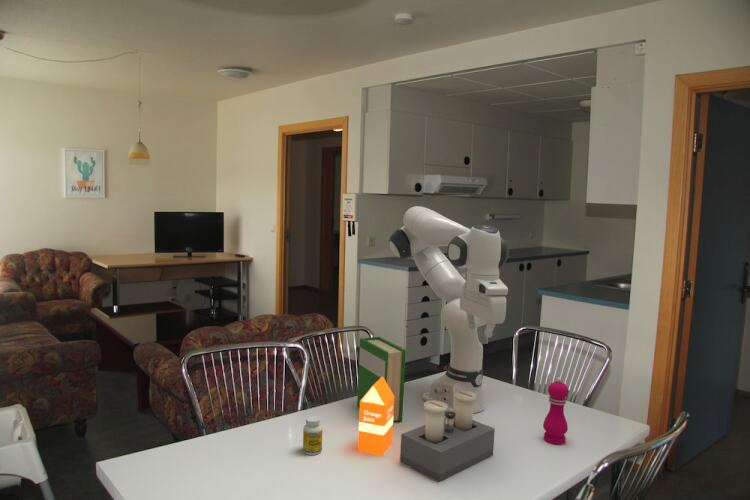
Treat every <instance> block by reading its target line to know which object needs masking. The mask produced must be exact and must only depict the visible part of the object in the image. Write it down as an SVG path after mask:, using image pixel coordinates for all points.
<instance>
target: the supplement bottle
mask: <svg viewBox="0 0 750 500" xmlns="http://www.w3.org/2000/svg"><path fill="white" fill-rule="evenodd" d="M302 430H303V432H302V452H303V453H304V454H305V455H308V456H316V455H318V454H321V452H322V451H323V450H322V449H323V426H322V424H321V418H320V417H319V416H316V415H311V416H307V417H306V418H305V425H304V426H303V429H302Z"/></svg>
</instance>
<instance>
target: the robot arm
mask: <svg viewBox="0 0 750 500" xmlns="http://www.w3.org/2000/svg"><path fill="white" fill-rule="evenodd" d="M388 243H389V247H390V250H391V251H392V253H393V254H394V256H396V257H397V258H398V259H401V260H407V259H409V258H411V257H412V256H413V260H414V263H415V265H416V268H417V269H418V271H419V273H420V274H421V276H422V278H423V279H424V280H425V281H426V283H427V284H428V285H429V287H430V288H431V290H432V291H433V292H434V293H435V295H436V296H437V297H438V298H440V299H441V300H444V301H446V302H447V304H444V306H443V307H442V308H441V311H440V321H441V323H442V325H443V326H444V328H446V330H447V332H448V335H449V340H450V362H449V364H447V365H445V366H443V370H446V371H445V373H444V374H443V375H441V376H439V377H438V378H436V379H434V380H433V381H432V382H431V384H430V386H429V391H427V392H425V393H423V395H422V397H421V398H422V400H423V401H424V402H426V401H431V400H436V401H442V402H444V403H446V404H447V405H448V410H447V411H451V412H454V413H455V410H456V399H455V398H454V392H456V391H470V392H473V393H475V394H476V395H477V398H476V401H474V406H473V414H476V413H480V412H482V411H483V410H485V406H484V400H483V392H482V384H483V378H484V376H483V375H484V368H483V357H484V355H483V354H484V346H483V344H482V343H481V342H480V340H479V335H478V328H479V327H482V326H485V325H486V328H485V329H484V330H483V336H484V337H486V338H492V337H493V332H494V329H495V327H496V324H498V325H500V324H503V323H504V322H505V320H506V315H507V314H506V313H507V297H506V296H507V295H508V293H509V288H508V287H507V285H506V284H505V283H504V282H503V281H502V280H501V278H500V270H499V269H501V267H503V265H504V264H505V263H506V262H507V260H508V258H509V254H510V247H509V245H508V244H507V241H506V240H505V239H504V237H502V236H501V233H500V231H499V229H498V228H496V227H494V226H491V225H486V224H476V225H473V226H472V227H471V228H470V227H469V226H468V227H467V226H465V225H463V224H460V223H458V222H456V221H454V220H452V219H450V218H448V217H446V216H444V215H442V214H441V213H440V212H438V211H437V210H432V209H430V208H428V207H424V206H421V205H420V206H419V205H415V206H412V207H409V209H407V210H406V211H405V213H404V215H403V226H402V227H400V228H398V229H396V230H395V231H394V232H393V233H391V235H390V236H389V240H388ZM439 247H447V251H446V253H447V256H445V254H444V253H443V252H442V251H441V250H440V248H439ZM456 268H458V269H459V268H460V269H467V271H466V273H467V274H466V279H465V278H464V277H463V276H462V275H461V274H460V273H459V271H458V270H457V269H456ZM447 411H446V412H447Z"/></svg>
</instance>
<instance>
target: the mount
mask: <svg viewBox="0 0 750 500" xmlns="http://www.w3.org/2000/svg"><path fill="white" fill-rule="evenodd" d="M445 418H446V417H445V416H444V433H443V441H442V442H439V443H437V444H434V443H431V442H429V441H427V440H425V424H424V425H421V426H419V427H416V428H413V429H411V430H408V431H405V432H403V433H401V435H400V438H401V439H400V451H399V452H400V454H399V462H400V463H401V464H403V465H405V466H407V467H408V468H411V469H413V470H415V471H417V472H419V473H421V474H423V475H424V476H427V477H428V478H430V479H432V480H434V481H436V482H438V483H440V482H442V481H444V480H446V479H448V478H450V477H453V476H455V475H456V474H459V473H460V472H462V471H465V470H466V469H469V468H471V467H472V466H474V465H476V464H478V463H479V464H480V462H481V463H482V461H485V460H487V459H488V458H490V457H493V456H494V446H495V435H496V434H495V433H496V432H495V431H496V429H495V428H494V427H491V426H489V425H486V424H485V423H481V422H479V421H476V420H474V419H473V421H472V429H470V430H468V431H466V432H465V431H463V430H460V429H458V428H455V427H454V430H453V433H447V432H445ZM454 426H455V418H454Z"/></svg>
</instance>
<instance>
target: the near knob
mask: <svg viewBox="0 0 750 500" xmlns="http://www.w3.org/2000/svg"><path fill="white" fill-rule="evenodd" d="M423 409H424V410H425V424H424V425H425V440H427V441H429V442H431V443H434V444H437V443H439V442H442V441H443V433H444V418H445V412H446V411H447V410H448V405H447V404H446V403H444V402H442V401H436V400H431V401H424V402H423Z"/></svg>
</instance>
